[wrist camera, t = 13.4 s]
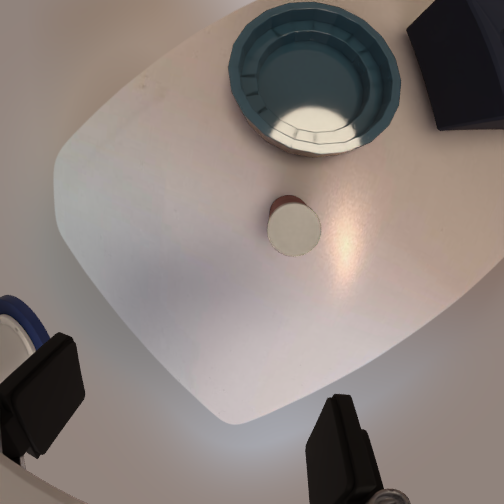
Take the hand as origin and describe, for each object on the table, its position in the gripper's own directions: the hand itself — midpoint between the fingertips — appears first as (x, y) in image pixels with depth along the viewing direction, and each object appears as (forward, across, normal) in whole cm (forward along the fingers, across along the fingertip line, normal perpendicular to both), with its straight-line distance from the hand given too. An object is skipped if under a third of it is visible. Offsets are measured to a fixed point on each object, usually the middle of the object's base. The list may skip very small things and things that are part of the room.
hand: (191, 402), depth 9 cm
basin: (+24, -4, -18) cm, 30 cm away
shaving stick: (+24, -4, -4) cm, 24 cm away
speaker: (+23, -26, -27) cm, 44 cm away
